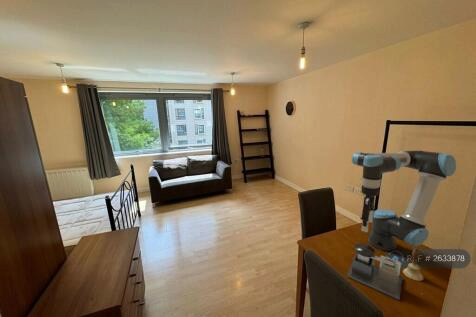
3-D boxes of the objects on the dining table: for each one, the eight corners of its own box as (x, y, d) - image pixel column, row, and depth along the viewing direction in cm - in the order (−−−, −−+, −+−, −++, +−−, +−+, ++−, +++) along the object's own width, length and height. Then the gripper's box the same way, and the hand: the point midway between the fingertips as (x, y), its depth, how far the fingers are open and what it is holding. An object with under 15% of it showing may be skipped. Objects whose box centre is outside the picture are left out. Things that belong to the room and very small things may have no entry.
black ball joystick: (356, 255, 113) (357, 241, 111) (393, 269, 102) (395, 254, 100) (351, 264, 107) (353, 249, 105) (391, 280, 96) (393, 264, 94)
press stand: (354, 260, 118) (356, 239, 115) (402, 278, 103) (405, 256, 100) (346, 276, 106) (348, 254, 104) (399, 300, 92) (402, 275, 89)
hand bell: (399, 272, 108) (402, 246, 104) (408, 266, 111) (412, 241, 107) (417, 283, 100) (422, 255, 97) (427, 277, 103) (431, 250, 100)
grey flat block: (384, 262, 99) (384, 261, 99) (394, 266, 97) (395, 265, 97) (384, 264, 98) (384, 263, 98) (394, 268, 96) (394, 267, 96)
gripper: (366, 178, 109) (363, 215, 113) (356, 191, 92) (352, 233, 97) (383, 181, 104) (379, 219, 108) (375, 195, 87) (371, 239, 92)
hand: (366, 226), depth 103 cm, fingers open, 11 cm apart
